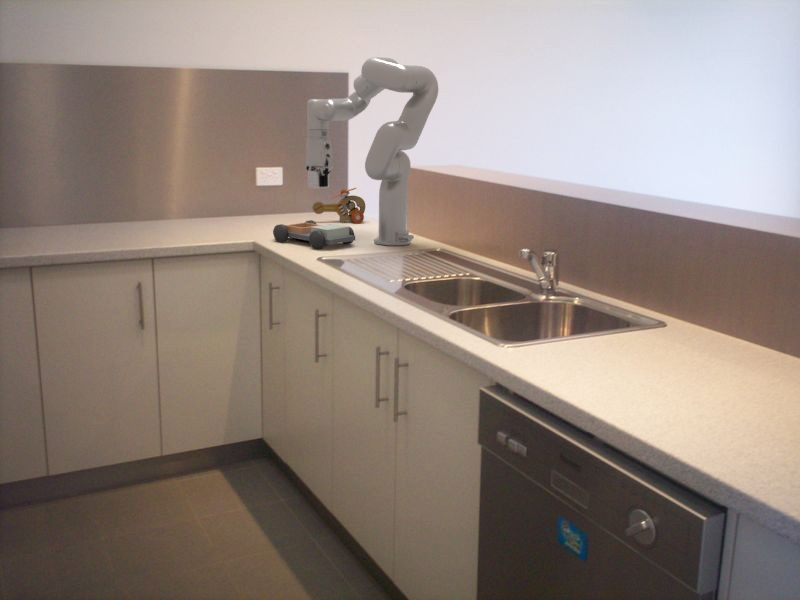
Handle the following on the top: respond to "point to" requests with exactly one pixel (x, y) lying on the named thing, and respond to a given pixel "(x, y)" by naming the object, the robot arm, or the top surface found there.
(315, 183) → the engine block
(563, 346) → the top surface
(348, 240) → the chassis
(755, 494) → the top surface
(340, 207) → the toy helicopter
